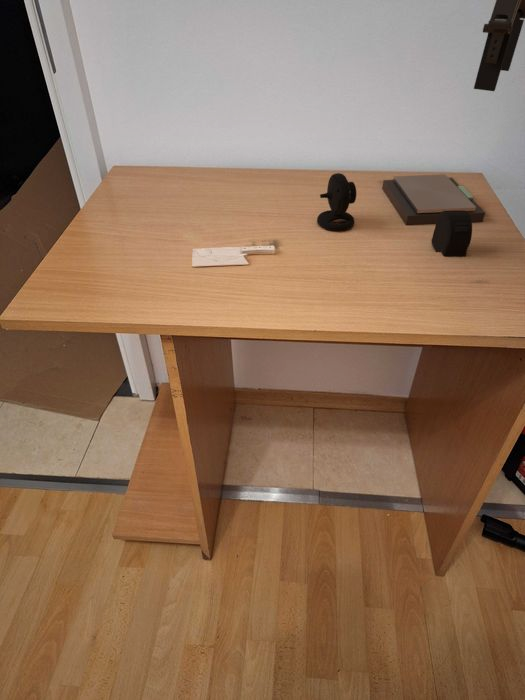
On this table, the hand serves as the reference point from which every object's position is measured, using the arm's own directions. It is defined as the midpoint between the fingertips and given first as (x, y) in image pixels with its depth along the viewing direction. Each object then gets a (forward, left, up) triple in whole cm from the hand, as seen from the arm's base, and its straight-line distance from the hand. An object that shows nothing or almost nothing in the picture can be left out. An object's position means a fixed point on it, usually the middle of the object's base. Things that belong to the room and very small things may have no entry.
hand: (492, 79), depth 71 cm
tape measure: (0, +4, -29) cm, 29 cm away
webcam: (+18, -13, -29) cm, 36 cm away
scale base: (-4, -20, -29) cm, 35 cm away
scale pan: (-4, -20, -26) cm, 33 cm away
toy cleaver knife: (+39, -1, -29) cm, 48 cm away
